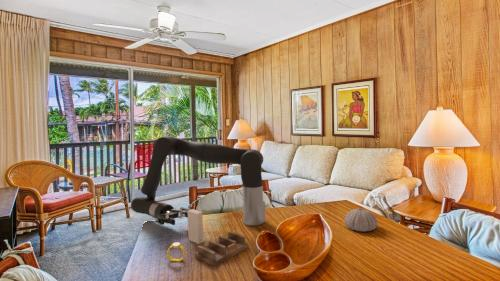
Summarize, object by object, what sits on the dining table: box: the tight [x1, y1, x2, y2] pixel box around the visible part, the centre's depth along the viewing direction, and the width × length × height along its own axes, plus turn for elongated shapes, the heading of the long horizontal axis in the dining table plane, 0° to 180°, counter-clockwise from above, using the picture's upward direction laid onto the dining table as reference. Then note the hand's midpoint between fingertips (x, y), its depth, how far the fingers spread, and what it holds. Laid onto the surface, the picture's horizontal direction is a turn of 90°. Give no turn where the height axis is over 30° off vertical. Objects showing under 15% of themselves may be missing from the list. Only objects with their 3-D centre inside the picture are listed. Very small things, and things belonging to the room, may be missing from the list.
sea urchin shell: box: [344, 208, 378, 232], centre depth 118 cm, size 13×14×8 cm
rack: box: [194, 231, 249, 268], centre depth 99 cm, size 10×17×4 cm, turn 140°
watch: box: [166, 241, 186, 263], centre depth 94 cm, size 6×3×6 cm, turn 89°
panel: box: [187, 208, 204, 245], centre depth 109 cm, size 6×2×12 cm, turn 50°
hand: (183, 219), depth 114 cm, fingers open, 8 cm apart
